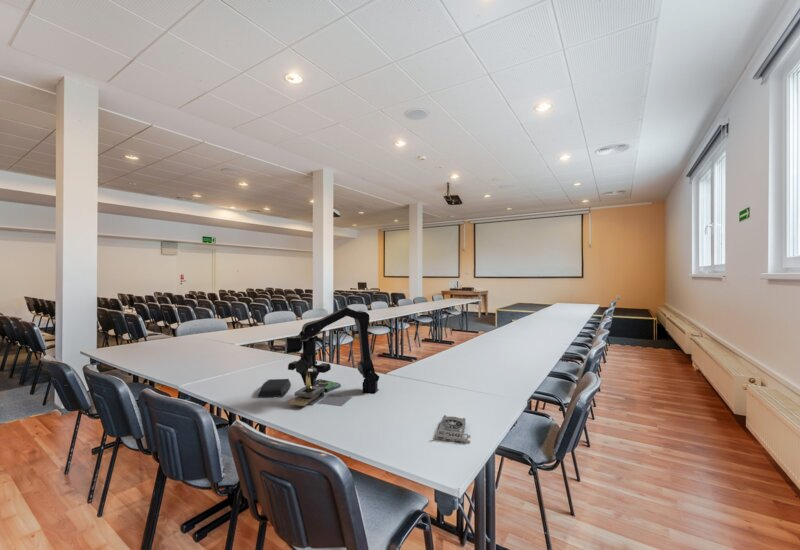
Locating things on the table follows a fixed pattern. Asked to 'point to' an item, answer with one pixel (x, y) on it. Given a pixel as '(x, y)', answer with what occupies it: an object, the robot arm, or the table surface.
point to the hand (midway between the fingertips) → (309, 385)
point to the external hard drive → (274, 388)
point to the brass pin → (308, 382)
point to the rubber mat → (335, 400)
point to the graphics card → (452, 430)
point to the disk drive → (327, 385)
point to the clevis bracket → (308, 396)
